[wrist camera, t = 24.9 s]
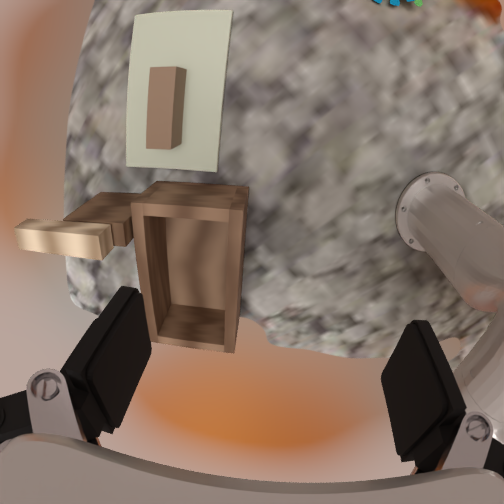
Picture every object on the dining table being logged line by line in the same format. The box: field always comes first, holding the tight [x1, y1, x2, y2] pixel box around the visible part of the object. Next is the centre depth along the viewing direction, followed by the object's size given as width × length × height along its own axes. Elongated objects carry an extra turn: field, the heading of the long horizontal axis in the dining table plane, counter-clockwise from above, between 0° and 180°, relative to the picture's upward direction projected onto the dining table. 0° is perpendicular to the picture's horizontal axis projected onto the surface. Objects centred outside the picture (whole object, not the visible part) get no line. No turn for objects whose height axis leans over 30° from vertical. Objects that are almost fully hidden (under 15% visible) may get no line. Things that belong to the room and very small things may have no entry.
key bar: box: [14, 219, 114, 260], centre depth 32 cm, size 14×3×3 cm, turn 86°
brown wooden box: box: [63, 181, 249, 353], centre depth 42 cm, size 22×22×10 cm
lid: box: [126, 10, 233, 172], centre depth 32 cm, size 13×22×6 cm, turn 174°
